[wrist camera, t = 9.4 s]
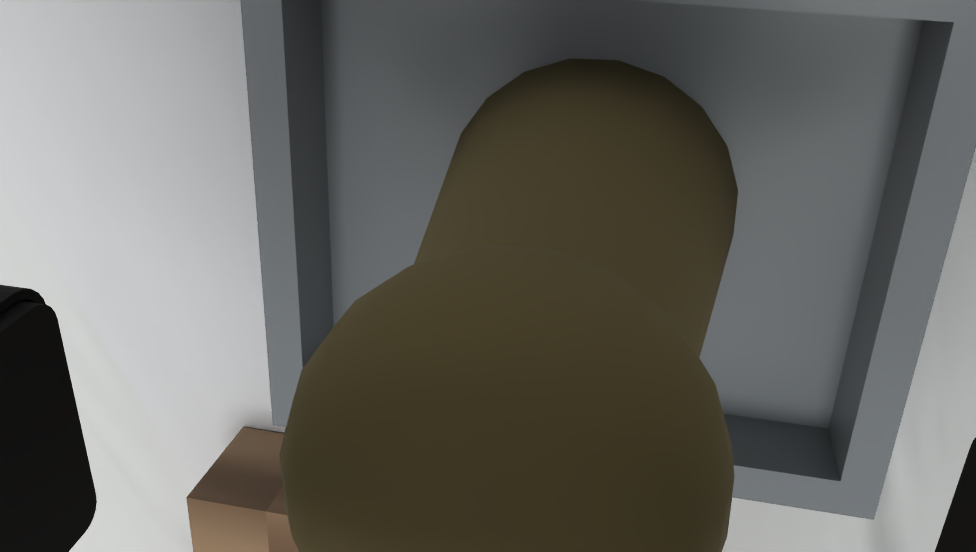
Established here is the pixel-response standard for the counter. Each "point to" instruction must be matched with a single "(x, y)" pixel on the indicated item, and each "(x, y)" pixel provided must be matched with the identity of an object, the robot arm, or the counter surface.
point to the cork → (536, 341)
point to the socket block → (242, 499)
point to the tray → (755, 160)
